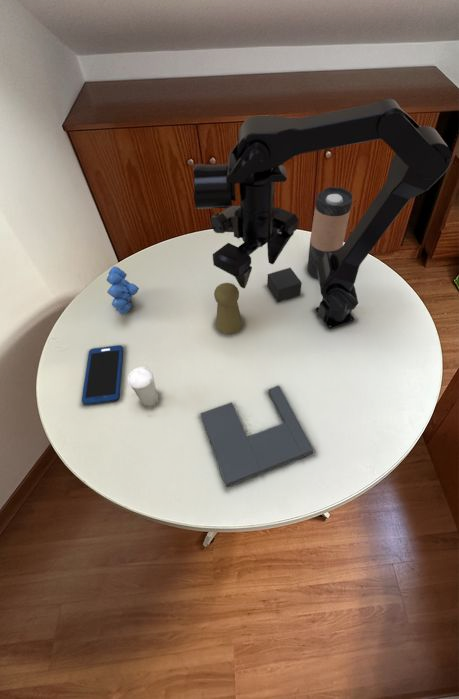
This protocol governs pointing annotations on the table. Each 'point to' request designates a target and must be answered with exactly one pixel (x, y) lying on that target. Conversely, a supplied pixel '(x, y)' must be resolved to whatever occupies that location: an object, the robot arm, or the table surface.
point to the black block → (284, 284)
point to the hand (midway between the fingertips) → (257, 275)
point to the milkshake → (144, 385)
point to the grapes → (121, 290)
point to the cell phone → (103, 375)
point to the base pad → (254, 441)
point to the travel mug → (328, 225)
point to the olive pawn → (227, 309)
